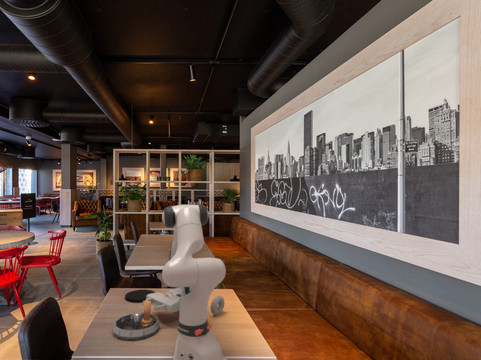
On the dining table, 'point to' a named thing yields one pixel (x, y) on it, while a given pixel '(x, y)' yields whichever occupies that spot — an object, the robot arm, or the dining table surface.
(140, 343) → the dining table surface
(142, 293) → the wireless charger
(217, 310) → the donut
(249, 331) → the dining table surface
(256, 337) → the dining table surface
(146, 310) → the peg on round base
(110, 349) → the dining table surface
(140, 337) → the bowl
